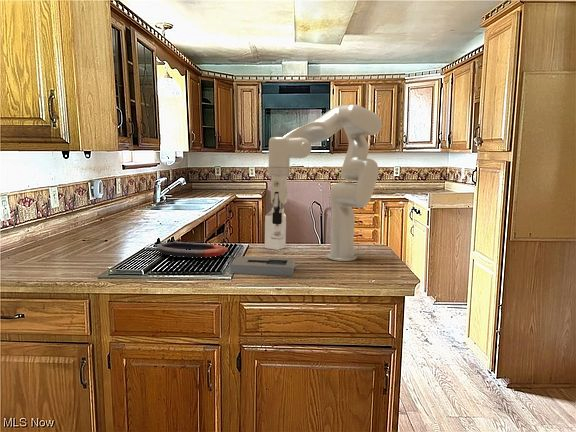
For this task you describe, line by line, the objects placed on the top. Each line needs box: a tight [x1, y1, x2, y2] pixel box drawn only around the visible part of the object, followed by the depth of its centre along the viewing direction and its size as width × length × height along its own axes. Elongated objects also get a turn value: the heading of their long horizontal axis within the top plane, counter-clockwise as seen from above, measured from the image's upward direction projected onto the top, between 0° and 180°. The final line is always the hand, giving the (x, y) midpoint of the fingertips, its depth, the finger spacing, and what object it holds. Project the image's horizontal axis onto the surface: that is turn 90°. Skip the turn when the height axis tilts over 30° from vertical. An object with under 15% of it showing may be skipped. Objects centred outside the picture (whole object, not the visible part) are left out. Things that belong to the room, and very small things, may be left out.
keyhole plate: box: [229, 255, 296, 277], centre depth 159 cm, size 22×13×3 cm, turn 84°
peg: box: [271, 207, 285, 239], centre depth 156 cm, size 5×5×11 cm
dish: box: [156, 240, 229, 257], centre depth 179 cm, size 16×31×5 cm, turn 76°
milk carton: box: [264, 209, 287, 251], centre depth 196 cm, size 7×7×19 cm
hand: (277, 222), depth 156 cm, fingers closed on peg, 4 cm apart
